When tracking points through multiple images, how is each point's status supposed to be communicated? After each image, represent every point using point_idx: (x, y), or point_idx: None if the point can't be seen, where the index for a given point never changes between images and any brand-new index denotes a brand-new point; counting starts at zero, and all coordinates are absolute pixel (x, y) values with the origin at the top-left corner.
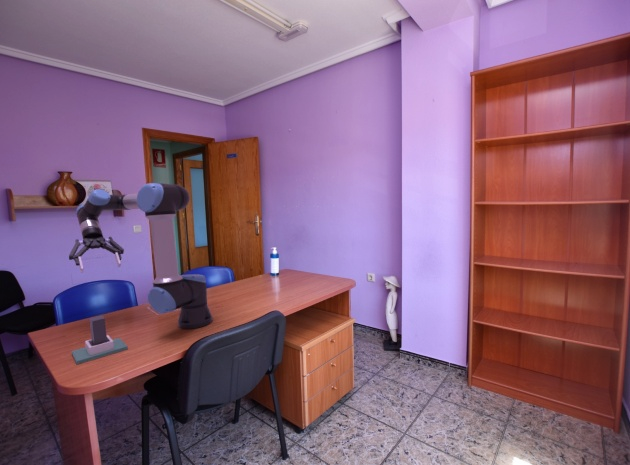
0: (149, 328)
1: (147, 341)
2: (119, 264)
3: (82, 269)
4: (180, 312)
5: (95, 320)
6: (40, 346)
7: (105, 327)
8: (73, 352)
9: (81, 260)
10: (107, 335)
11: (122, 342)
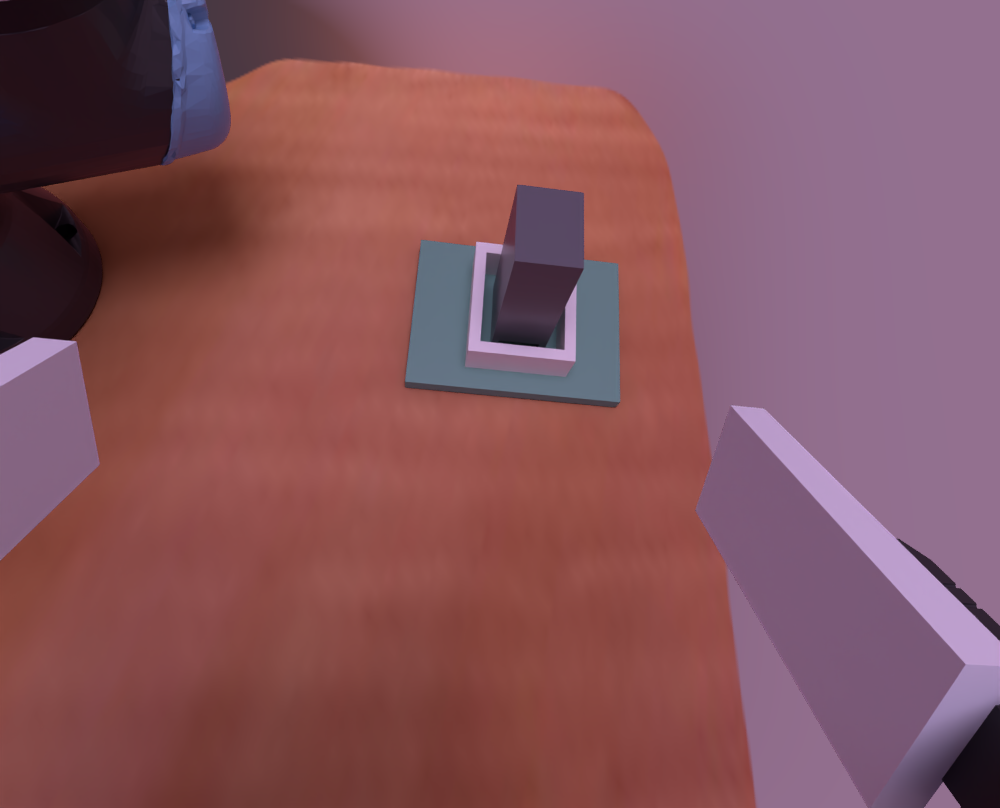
0: (209, 437)
1: (320, 259)
2: (67, 372)
3: (733, 433)
4: (17, 259)
5: (566, 192)
6: (733, 683)
7: (509, 222)
8: (616, 373)
9: (848, 531)
10: (473, 344)
11: (419, 303)
